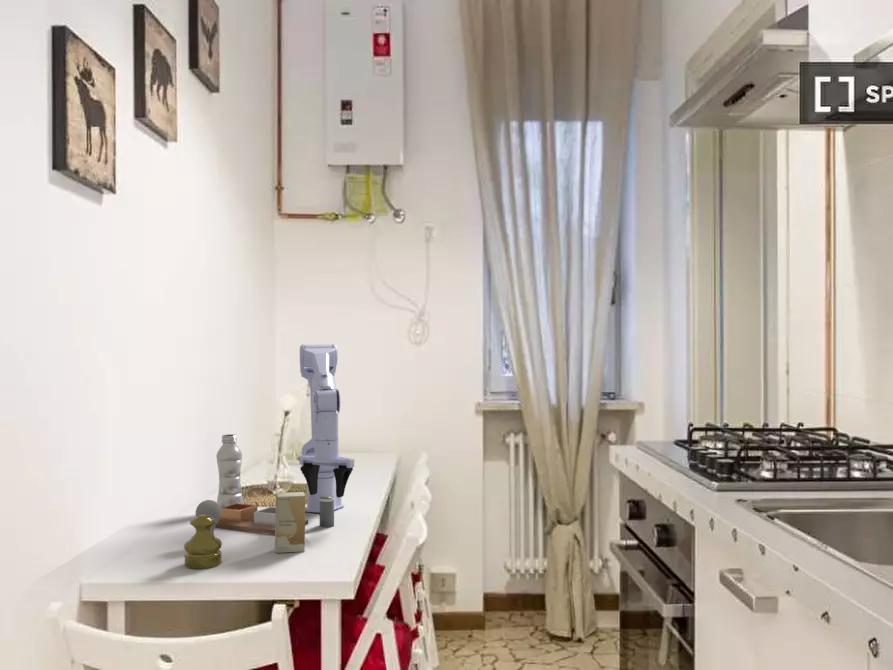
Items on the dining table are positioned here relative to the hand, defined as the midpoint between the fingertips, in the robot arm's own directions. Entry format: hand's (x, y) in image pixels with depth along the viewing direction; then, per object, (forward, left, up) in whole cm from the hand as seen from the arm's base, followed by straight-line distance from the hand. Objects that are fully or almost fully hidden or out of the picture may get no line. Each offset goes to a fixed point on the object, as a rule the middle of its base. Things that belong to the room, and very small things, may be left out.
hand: (326, 495), depth 200 cm
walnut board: (+6, -16, -7) cm, 19 cm away
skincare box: (+22, +5, -8) cm, 24 cm away
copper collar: (+6, -22, -7) cm, 24 cm away
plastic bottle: (-3, -32, -8) cm, 33 cm away
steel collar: (+6, -11, -6) cm, 14 cm away
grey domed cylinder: (0, 0, -7) cm, 7 cm away
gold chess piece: (+38, -5, -8) cm, 39 cm away
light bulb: (+26, -14, -8) cm, 30 cm away
